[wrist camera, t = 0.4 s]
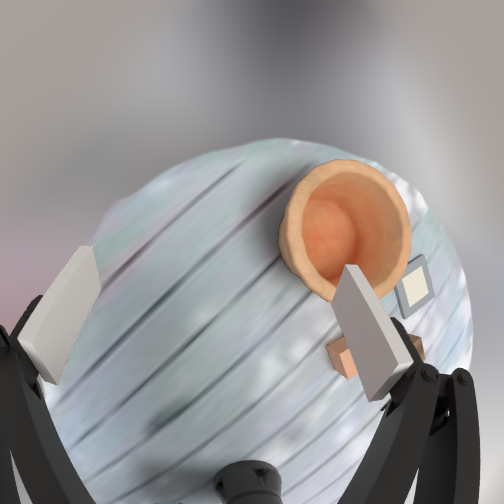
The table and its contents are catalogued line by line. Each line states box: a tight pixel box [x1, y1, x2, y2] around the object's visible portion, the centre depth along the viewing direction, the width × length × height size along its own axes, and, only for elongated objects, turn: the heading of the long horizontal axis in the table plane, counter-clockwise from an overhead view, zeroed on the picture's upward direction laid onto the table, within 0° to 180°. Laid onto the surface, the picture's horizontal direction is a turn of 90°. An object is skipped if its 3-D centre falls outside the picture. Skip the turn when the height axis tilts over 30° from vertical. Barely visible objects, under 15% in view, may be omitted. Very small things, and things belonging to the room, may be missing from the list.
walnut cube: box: [408, 334, 425, 361], centre depth 52 cm, size 6×6×6 cm
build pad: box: [394, 254, 435, 319], centre depth 55 cm, size 11×11×1 cm
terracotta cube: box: [326, 336, 358, 379], centre depth 49 cm, size 6×6×6 cm
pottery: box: [278, 159, 411, 303], centre depth 45 cm, size 22×22×14 cm
